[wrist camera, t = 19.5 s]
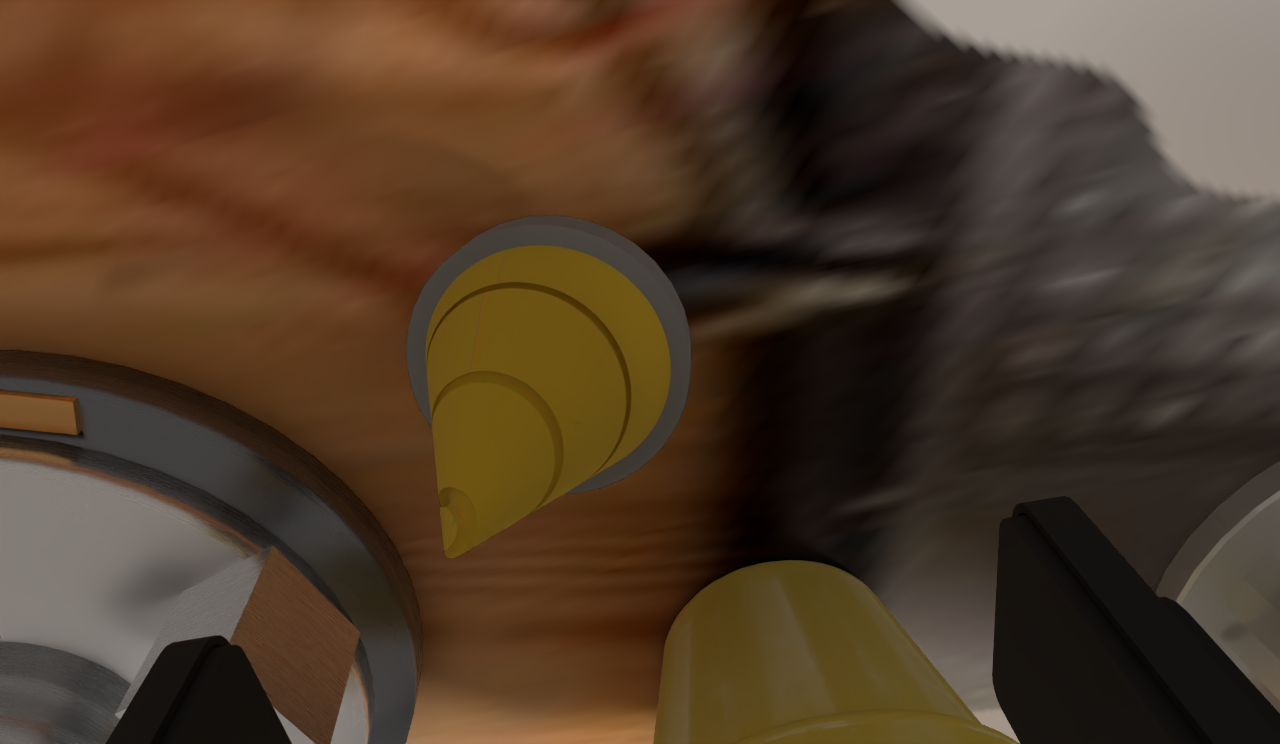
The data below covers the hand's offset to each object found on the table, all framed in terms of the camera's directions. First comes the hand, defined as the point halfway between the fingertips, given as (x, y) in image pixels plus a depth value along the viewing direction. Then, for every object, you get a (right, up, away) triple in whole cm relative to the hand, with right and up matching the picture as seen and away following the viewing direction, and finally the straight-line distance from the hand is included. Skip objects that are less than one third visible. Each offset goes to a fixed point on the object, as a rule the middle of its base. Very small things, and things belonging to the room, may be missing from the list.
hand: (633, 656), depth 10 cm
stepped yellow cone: (-1, +5, +9) cm, 10 cm away
